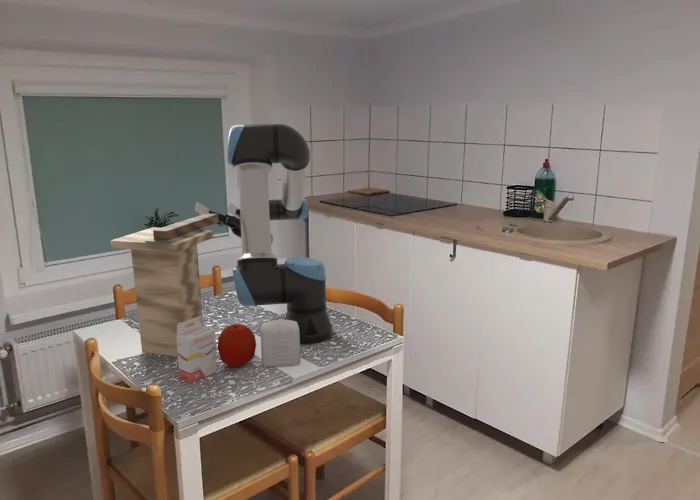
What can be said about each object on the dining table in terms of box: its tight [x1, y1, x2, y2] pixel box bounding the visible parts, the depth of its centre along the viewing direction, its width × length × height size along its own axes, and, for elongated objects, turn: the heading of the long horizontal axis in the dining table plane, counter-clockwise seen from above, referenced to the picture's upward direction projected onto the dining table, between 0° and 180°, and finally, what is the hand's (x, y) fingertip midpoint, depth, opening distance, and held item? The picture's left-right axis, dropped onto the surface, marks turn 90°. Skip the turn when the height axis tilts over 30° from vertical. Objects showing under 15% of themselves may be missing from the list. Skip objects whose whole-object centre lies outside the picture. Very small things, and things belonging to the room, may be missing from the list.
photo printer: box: [260, 319, 301, 367], centre depth 149 cm, size 10×4×12 cm, turn 98°
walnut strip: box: [153, 213, 219, 241], centre depth 157 cm, size 26×4×2 cm, turn 163°
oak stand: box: [110, 226, 215, 358], centre depth 157 cm, size 18×20×33 cm
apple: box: [217, 323, 257, 368], centre depth 149 cm, size 10×10×12 cm
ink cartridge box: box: [176, 316, 218, 384], centre depth 142 cm, size 9×5×15 cm, turn 144°
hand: (212, 206), depth 171 cm, fingers open, 11 cm apart
